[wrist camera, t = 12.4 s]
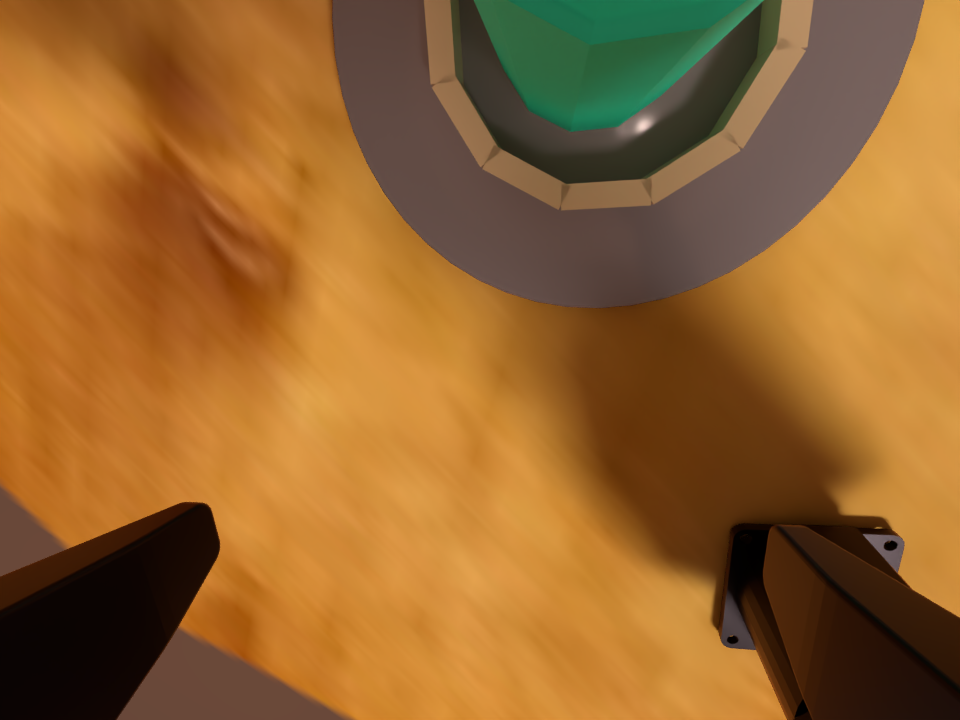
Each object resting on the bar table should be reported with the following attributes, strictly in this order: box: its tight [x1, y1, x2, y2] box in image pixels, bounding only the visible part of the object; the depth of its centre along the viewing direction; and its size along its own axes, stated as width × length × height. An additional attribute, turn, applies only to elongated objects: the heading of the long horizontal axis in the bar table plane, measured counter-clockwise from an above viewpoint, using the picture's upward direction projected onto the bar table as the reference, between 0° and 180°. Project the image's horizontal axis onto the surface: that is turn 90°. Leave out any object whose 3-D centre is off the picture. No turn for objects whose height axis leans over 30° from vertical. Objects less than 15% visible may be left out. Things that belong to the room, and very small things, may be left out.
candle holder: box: [332, 0, 924, 308], centre depth 15 cm, size 18×18×2 cm
